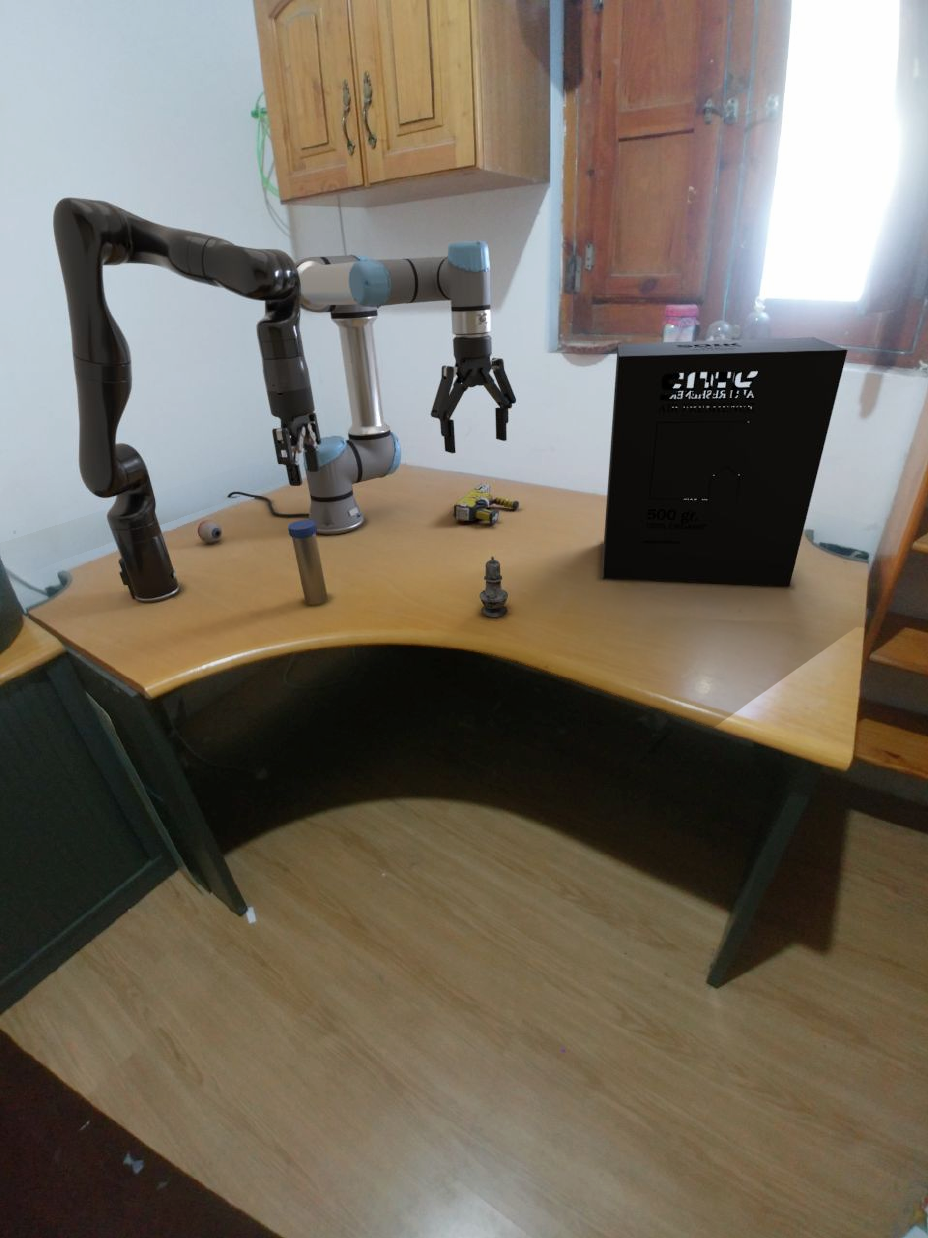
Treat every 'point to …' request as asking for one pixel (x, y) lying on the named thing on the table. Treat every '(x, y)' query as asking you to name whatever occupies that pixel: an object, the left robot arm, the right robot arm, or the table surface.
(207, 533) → the eyeball
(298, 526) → the lid
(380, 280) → the right robot arm
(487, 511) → the toy gun
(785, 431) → the cardboard box
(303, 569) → the jar
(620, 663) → the table surface
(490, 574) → the dark grey tiered cylinder
